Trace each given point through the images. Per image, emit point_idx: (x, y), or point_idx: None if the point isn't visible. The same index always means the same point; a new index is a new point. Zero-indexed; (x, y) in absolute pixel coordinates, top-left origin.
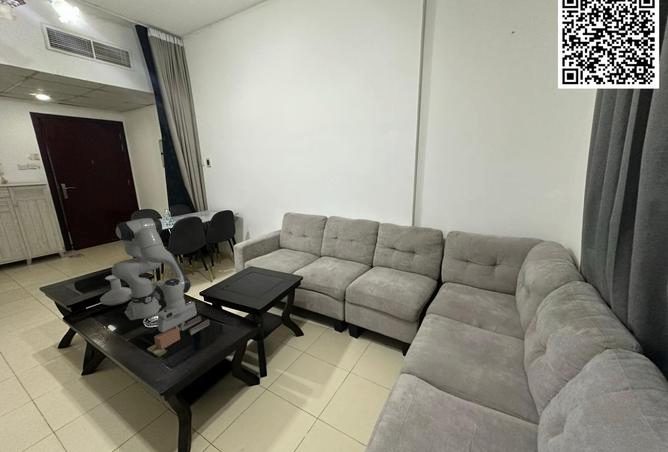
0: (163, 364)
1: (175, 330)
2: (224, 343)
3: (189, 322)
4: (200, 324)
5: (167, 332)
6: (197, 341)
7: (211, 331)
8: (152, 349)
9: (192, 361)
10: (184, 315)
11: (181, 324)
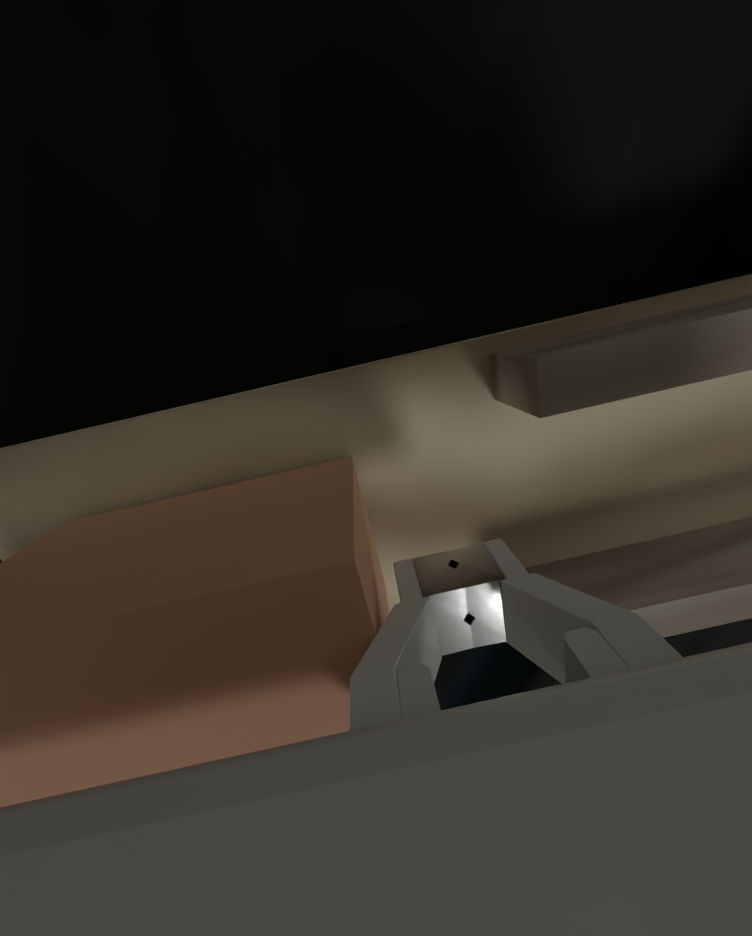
0: None
1: None
2: None
3: (724, 372)
4: (745, 604)
5: (167, 724)
6: (495, 694)
7: (685, 635)
8: (22, 548)
9: None
10: None
11: (548, 636)
